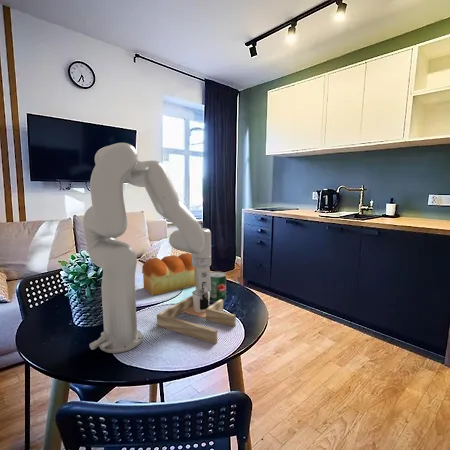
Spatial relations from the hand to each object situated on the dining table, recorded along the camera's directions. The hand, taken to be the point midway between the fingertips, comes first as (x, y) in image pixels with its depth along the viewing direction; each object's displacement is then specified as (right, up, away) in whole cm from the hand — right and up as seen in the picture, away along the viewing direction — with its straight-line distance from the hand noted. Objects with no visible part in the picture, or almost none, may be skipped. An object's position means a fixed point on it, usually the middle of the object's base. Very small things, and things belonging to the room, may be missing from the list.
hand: (201, 303), depth 110 cm
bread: (-17, 0, +28) cm, 32 cm away
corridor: (+1, -4, -8) cm, 9 cm away
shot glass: (0, -2, 0) cm, 3 cm away
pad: (0, -3, 0) cm, 3 cm away
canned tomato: (+5, -1, +12) cm, 13 cm away
